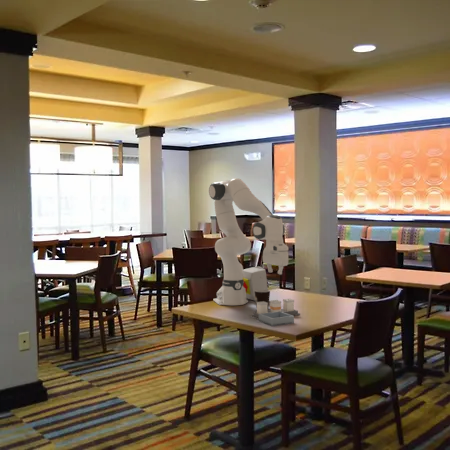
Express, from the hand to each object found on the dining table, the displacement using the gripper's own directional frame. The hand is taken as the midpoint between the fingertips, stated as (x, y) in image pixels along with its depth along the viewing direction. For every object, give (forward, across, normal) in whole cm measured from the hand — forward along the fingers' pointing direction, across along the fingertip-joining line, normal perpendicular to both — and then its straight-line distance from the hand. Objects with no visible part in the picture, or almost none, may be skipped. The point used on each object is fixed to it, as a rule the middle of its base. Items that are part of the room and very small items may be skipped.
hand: (275, 273), depth 274 cm
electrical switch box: (+22, -47, +11) cm, 53 cm away
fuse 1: (+21, 0, -8) cm, 23 cm away
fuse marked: (+21, 0, 0) cm, 21 cm away
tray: (+22, +12, -7) cm, 26 cm away
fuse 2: (+22, -1, +8) cm, 23 cm away
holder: (+22, 0, 0) cm, 22 cm away
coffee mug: (+22, -20, +4) cm, 30 cm away
